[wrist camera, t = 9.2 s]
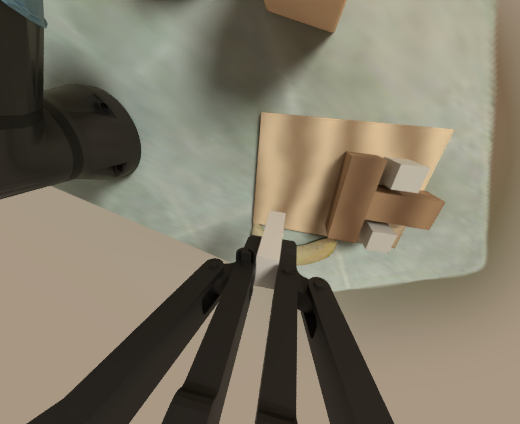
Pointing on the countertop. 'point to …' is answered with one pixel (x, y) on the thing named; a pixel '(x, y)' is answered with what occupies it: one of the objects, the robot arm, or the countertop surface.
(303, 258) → the fruit
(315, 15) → the pump bottle
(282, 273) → the robot arm
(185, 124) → the countertop surface
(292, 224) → the board
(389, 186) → the posts
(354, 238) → the tee
